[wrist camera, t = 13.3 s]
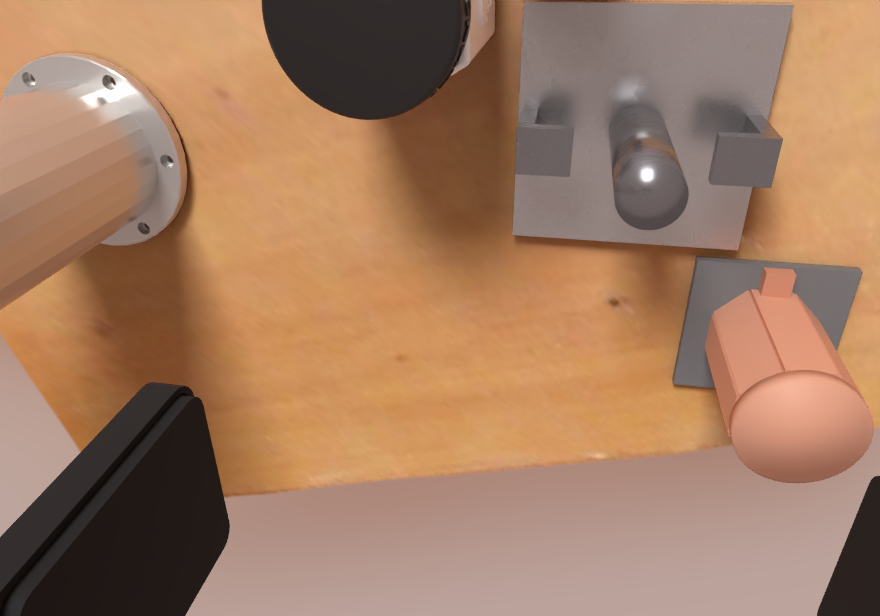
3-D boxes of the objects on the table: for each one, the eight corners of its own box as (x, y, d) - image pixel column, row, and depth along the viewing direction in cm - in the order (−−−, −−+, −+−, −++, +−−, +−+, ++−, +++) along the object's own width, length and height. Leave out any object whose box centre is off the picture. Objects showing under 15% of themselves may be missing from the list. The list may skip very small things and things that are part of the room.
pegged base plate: (513, 228, 43) (492, 317, 33) (525, -1, 36) (502, 28, 27) (735, 243, 40) (778, 342, 31) (788, 2, 34) (865, 35, 25)
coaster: (672, 378, 46) (673, 384, 45) (696, 256, 41) (697, 260, 41) (817, 393, 44) (820, 399, 44) (858, 267, 40) (862, 272, 39)
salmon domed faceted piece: (720, 264, 41) (753, 350, 32) (837, 272, 40) (901, 364, 31) (693, 390, 45) (716, 494, 37) (797, 400, 44) (844, 509, 36)
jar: (498, 75, 38) (465, 133, 28) (358, 74, 40) (277, 130, 30) (500, -114, 34) (461, -126, 24) (342, -106, 35) (241, -115, 25)
